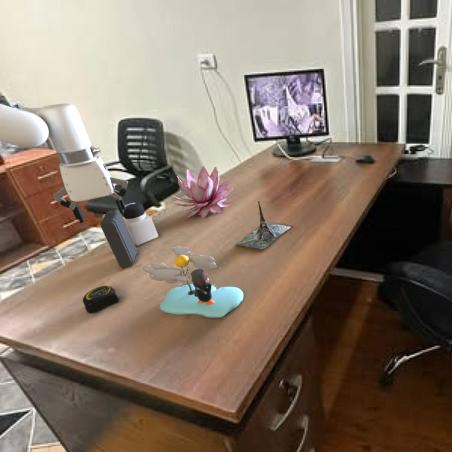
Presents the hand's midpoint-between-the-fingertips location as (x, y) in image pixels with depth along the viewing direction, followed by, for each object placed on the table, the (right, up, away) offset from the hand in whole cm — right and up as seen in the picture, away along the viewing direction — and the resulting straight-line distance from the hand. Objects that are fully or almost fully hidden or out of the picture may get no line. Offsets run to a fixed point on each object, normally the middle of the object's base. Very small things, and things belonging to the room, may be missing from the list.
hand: (103, 216), depth 96 cm
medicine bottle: (+1, -7, +19) cm, 20 cm away
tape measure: (+7, -22, -10) cm, 26 cm away
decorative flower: (+17, +3, +33) cm, 37 cm away
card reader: (+2, -13, +8) cm, 15 cm away
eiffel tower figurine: (+42, -6, +14) cm, 44 cm away
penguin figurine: (+32, -22, -13) cm, 41 cm away
